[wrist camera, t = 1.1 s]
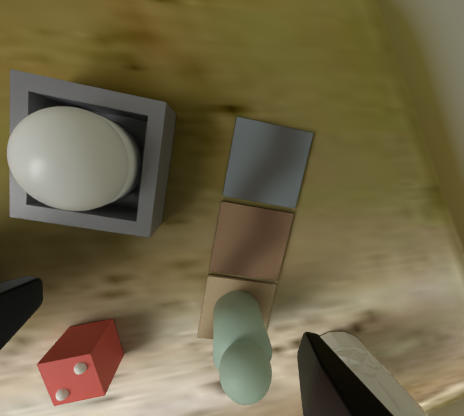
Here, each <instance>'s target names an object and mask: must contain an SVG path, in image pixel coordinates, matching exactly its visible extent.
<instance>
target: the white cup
mask: <svg viewBox="0 0 464 416" xmlns="http://www.w3.org/2000/svg"><path fill="white" fill-rule="evenodd" d="M320 337H321V338H322V339H323V340H324V341H325V342H326V344H327V345H328V346H329V347H330V348H331V349H332V350H333V351H334V352H335V353H336V354H337V355H338V356H339V358H340V359H341V360H342V361H343V362H344V363H345V364H346V365H347V366H348V367H349V368H350V369H351V370H352V371H353V373H354V374H355V375H356V376H357V377H358V378H359V379H360V380H361V381H362V382H363V383H364V384H365V385H366V386H367V388H368V389H369V390H370V391H371V392H372V393H373V394H374V395H375V396H376V397H377V398H378V399H379V400H380V401H381V403H382V404H383V405H384V406H385V407H386V408H387V409H388V410H389V411H390V412H391V413H392V414H393V415H394V416H429V415H428V414H427V413H426V412H425V411H424V410H423V409H422V407H421V406H420V405H419V404H418V403H417V402H416V401H415V400H414V398H413V397H412V396H411V395H410V394H409V393H408V392H407V391H406V389H405V388H404V387H403V386H402V385H401V384H400V383H399V382H398V381H397V380H396V379H395V378H394V377H393V375H392V374H391V373H390V372H389V371H388V370H387V369H386V368H385V367H384V366H383V365H382V364H381V363H380V362H379V361H378V360H377V359H376V358H374V356H373V355H372V354H371V353H370V352H369V351H368V350H367V349H366V348H365V346H364V345H363V344H362V343H361V342H360V341H359V339H358V338H357V337H355V336H353V335H351V334H348V333H346V332H343V331H342V332H328V333H326V334H324V335H322V336H320Z"/></svg>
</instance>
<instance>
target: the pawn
mask: <svg viewBox="0 0 464 416" xmlns="http://www.w3.org/2000/svg"><path fill="white" fill-rule="evenodd" d="M271 357H272V347H271V344H270V341H269V337H268V334H267V331H266V328H265V324H264V321H263V318H262V315H261V311H260V308H259V305H258V302H257V300H256V299H255V298H254V297H253V296H252V295H251V294H249V293H247V292H244V291H231V292H228V293H226V294H224V295H223V296H221V297H220V298H219V299H218V301H217V302H216V304H215V306H214V311H213V360H214V364H215V366H216V368H217V369H218V370H219V378H220V382H221V385H222V388H223V390H224V391H225V393H226V394H227V396H228V397H229V398H230V399H231V400H233V401H234V402H236V403H239V404H242V405H251V404H254V403H256V402H258V401H259V400H261V399H262V398H263V397H264V396H265V394H266V393H267V391H268V389H269V387H270V383H271V378H272V369H271V364H270V360H271Z"/></svg>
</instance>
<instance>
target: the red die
mask: <svg viewBox="0 0 464 416" xmlns="http://www.w3.org/2000/svg"><path fill="white" fill-rule="evenodd" d="M123 355H124V353H123V349H122V346H121V343H120V340H119V337H118V334H117V330H116V327H115V324H114V321H113V319H108V320H103V321H98V322H93V323H88V324H83V325H78V326H72V327H69V328H68V329H67V330H66V332H65V333H64V334H63V335H62V336H61V337H60V338H59V340H58V341H57V342H56V343H55V344H54V345H53V346H52V348H51V349H50V350H49V351H48V352H47V353H46V354H45V356H44V357H43V358H42V359H41V360H40V361H39V363H38V364H37V366H38V369H39V371H40V373H41V376H42V378H43V381H44V383H45V385H46V388H47V390H48V393H49V395H50V397H51V400H52V402H53V404H54V406H56V405H61V404H66V403H71V402H75V401H80V400H85V399H90V398H95V397H100V396H104V395H105V394H106V392H107V390H108V388H109V385H110V383H111V381H112V379H113V377H114V375H115V373H116V370H117V368H118V366H119V364H120V362H121V360H122V358H123Z"/></svg>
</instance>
